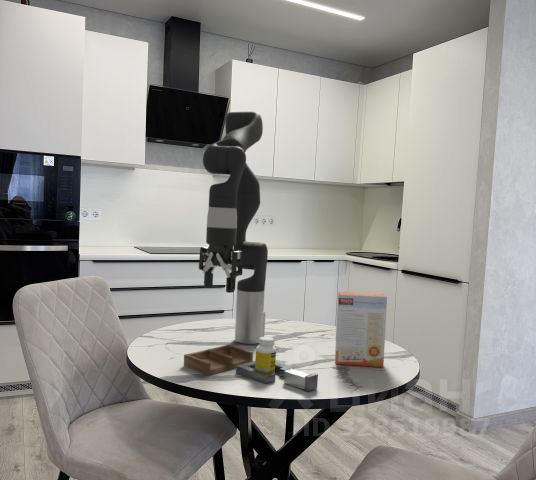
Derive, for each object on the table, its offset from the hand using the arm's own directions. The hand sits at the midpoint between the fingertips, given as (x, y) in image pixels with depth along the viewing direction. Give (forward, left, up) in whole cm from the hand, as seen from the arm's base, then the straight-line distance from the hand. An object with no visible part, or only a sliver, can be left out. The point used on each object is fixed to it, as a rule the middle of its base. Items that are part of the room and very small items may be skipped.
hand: (218, 289), depth 127 cm
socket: (-13, +5, -23) cm, 27 cm away
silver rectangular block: (-13, +17, -23) cm, 32 cm away
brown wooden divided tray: (-9, -9, -23) cm, 27 cm away
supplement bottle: (-13, +5, -24) cm, 28 cm away
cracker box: (-42, +16, -24) cm, 51 cm away
